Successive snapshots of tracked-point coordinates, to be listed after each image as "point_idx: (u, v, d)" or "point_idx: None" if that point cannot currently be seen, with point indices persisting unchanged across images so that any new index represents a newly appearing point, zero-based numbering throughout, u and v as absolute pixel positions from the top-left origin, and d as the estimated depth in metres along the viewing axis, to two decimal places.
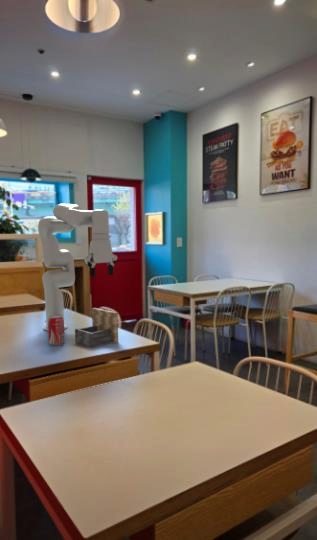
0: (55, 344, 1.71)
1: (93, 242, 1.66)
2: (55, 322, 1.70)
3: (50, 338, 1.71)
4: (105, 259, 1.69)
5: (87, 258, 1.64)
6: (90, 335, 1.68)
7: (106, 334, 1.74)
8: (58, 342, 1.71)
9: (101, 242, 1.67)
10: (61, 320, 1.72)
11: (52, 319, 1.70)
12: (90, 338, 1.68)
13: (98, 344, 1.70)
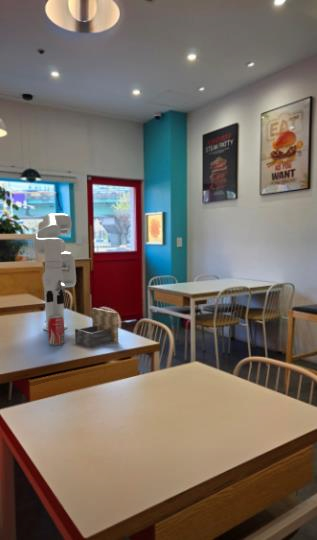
0: (55, 344, 1.71)
1: (60, 270, 1.69)
2: (55, 322, 1.70)
3: (50, 338, 1.71)
4: None
5: None
6: (90, 335, 1.68)
7: (106, 334, 1.74)
8: (58, 342, 1.71)
9: None
10: (61, 320, 1.72)
11: (52, 319, 1.70)
12: (90, 338, 1.68)
13: (98, 344, 1.70)
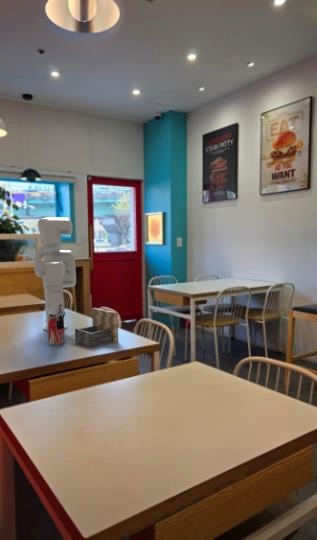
0: (55, 344, 1.71)
1: (60, 294, 1.70)
2: (55, 322, 1.70)
3: (50, 337, 1.71)
4: None
5: None
6: (90, 335, 1.68)
7: (106, 334, 1.74)
8: (58, 342, 1.71)
9: None
10: None
11: (52, 319, 1.70)
12: (90, 338, 1.68)
13: (98, 344, 1.70)
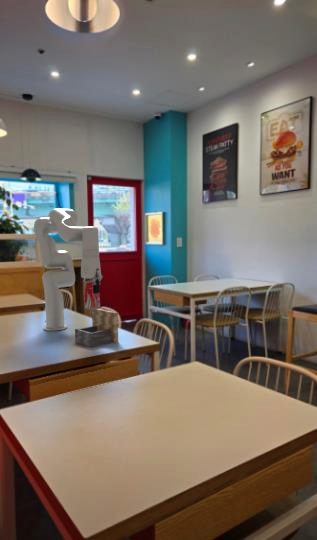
0: (91, 308, 1.72)
1: (97, 258, 1.70)
2: (92, 286, 1.71)
3: (87, 302, 1.72)
4: None
5: None
6: (90, 335, 1.68)
7: (106, 334, 1.74)
8: (94, 306, 1.72)
9: None
10: None
11: (88, 283, 1.71)
12: (90, 338, 1.68)
13: (98, 344, 1.70)
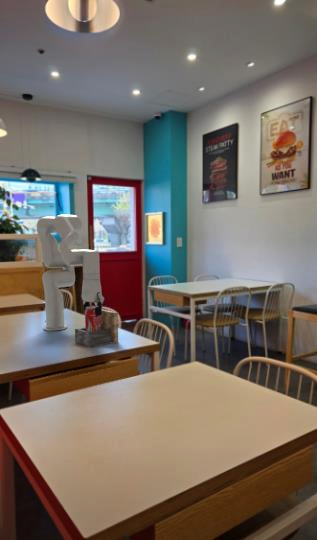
0: None
1: (98, 281, 1.71)
2: (93, 313, 1.71)
3: (88, 328, 1.72)
4: None
5: None
6: (90, 335, 1.68)
7: (106, 334, 1.74)
8: None
9: None
10: None
11: (89, 310, 1.72)
12: (90, 338, 1.68)
13: (98, 344, 1.70)
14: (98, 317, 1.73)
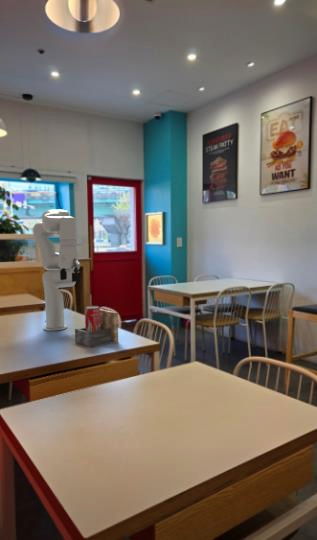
0: None
1: (75, 248, 1.72)
2: (93, 313, 1.72)
3: (88, 328, 1.73)
4: None
5: None
6: (90, 335, 1.68)
7: (106, 334, 1.74)
8: None
9: None
10: (98, 311, 1.73)
11: (90, 310, 1.72)
12: (90, 338, 1.68)
13: (98, 344, 1.70)
14: (98, 317, 1.73)
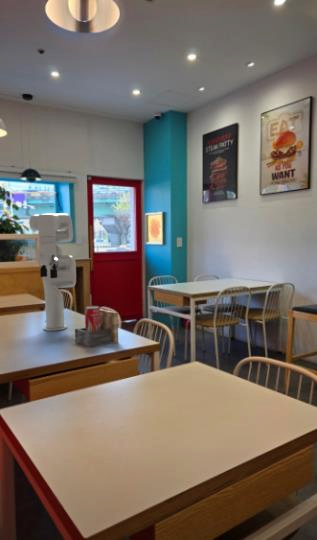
0: None
1: (53, 245, 1.74)
2: (93, 313, 1.72)
3: (88, 328, 1.73)
4: None
5: None
6: (90, 335, 1.68)
7: (106, 334, 1.74)
8: None
9: None
10: (98, 311, 1.73)
11: (90, 310, 1.72)
12: (90, 338, 1.68)
13: (98, 344, 1.70)
14: (98, 317, 1.73)
